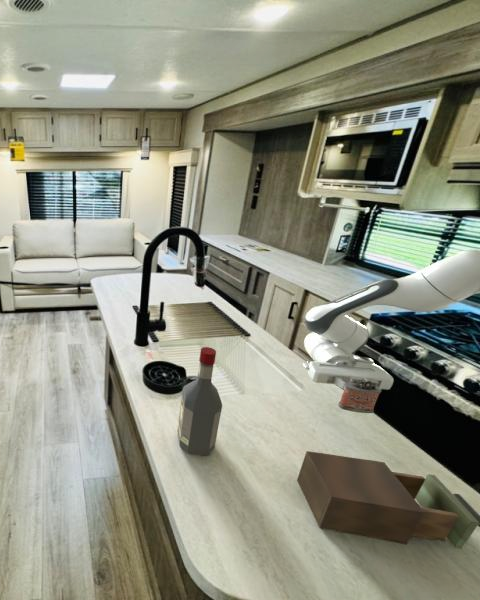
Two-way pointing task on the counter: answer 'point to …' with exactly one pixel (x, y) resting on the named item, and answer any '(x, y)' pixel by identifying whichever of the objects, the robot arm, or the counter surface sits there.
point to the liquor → (200, 409)
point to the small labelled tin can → (360, 395)
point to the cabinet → (358, 497)
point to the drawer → (440, 510)
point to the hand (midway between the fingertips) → (363, 391)
